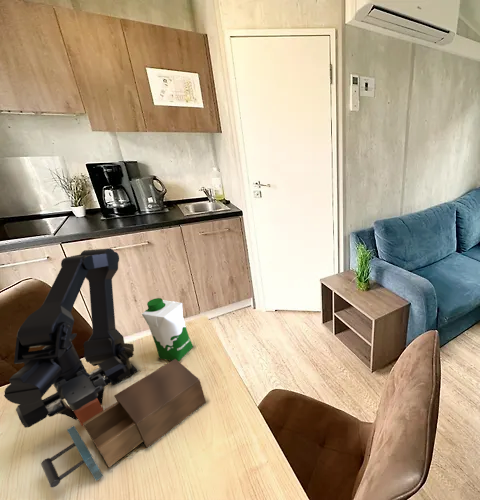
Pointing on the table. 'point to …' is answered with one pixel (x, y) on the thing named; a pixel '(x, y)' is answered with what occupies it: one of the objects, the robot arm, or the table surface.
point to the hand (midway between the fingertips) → (88, 411)
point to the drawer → (99, 442)
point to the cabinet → (162, 400)
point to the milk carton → (168, 328)
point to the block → (88, 411)
